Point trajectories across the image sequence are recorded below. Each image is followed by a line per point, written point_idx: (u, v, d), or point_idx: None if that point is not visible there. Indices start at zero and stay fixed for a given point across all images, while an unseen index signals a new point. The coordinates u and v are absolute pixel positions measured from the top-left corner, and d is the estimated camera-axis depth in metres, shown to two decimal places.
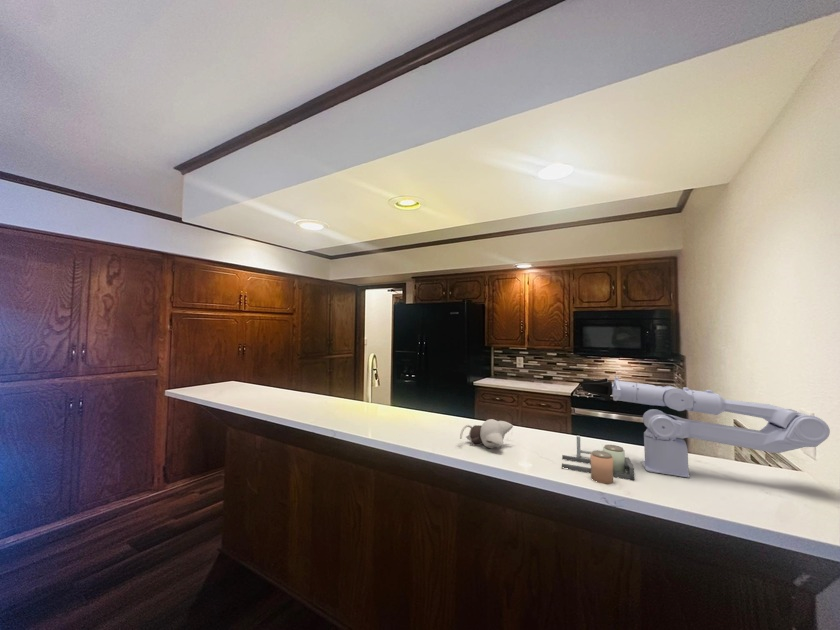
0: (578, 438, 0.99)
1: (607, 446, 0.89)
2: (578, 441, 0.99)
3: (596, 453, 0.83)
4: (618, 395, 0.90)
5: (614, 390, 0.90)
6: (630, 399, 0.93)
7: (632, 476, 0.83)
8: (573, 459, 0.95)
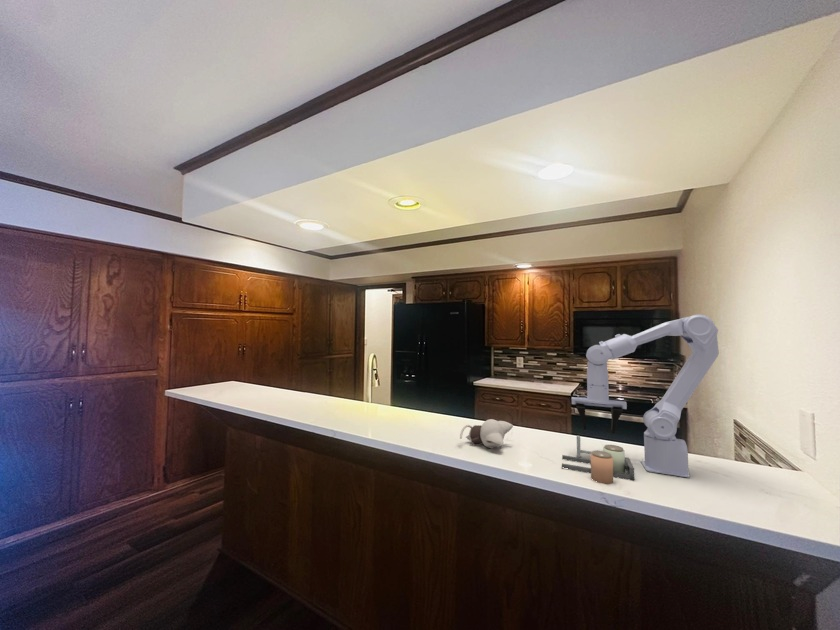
0: (578, 438, 0.99)
1: (607, 446, 0.89)
2: (578, 441, 0.99)
3: (596, 453, 0.83)
4: None
5: None
6: (590, 389, 0.98)
7: (632, 476, 0.83)
8: (573, 459, 0.95)
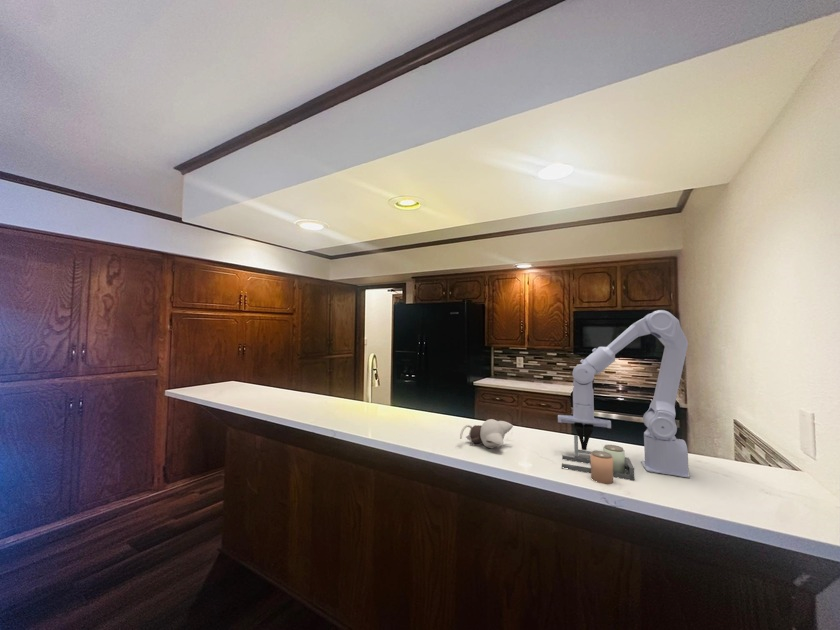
0: (576, 438, 1.00)
1: (607, 446, 0.89)
2: (576, 441, 0.99)
3: (596, 453, 0.83)
4: None
5: None
6: (575, 408, 0.99)
7: (632, 476, 0.83)
8: (573, 459, 0.95)
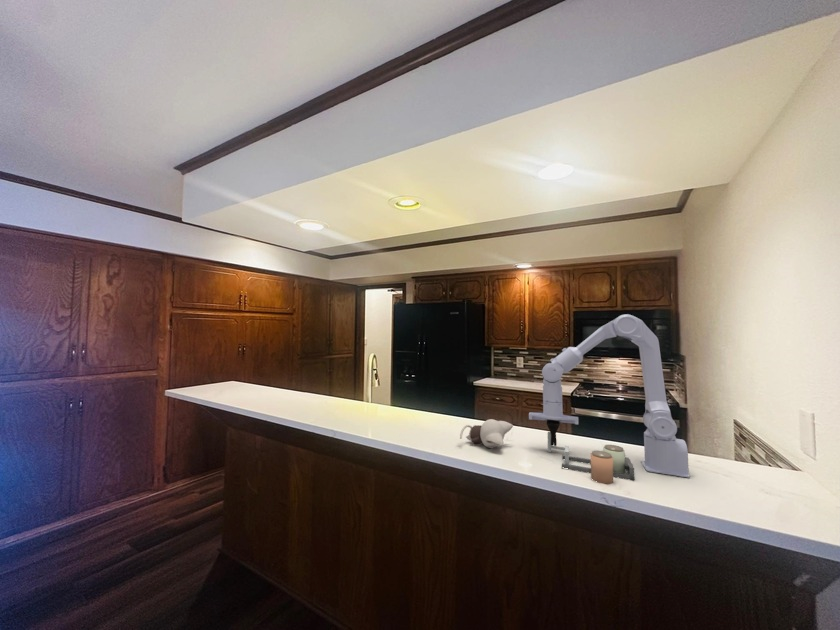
0: (549, 434, 1.03)
1: (607, 446, 0.89)
2: (549, 437, 1.03)
3: (596, 453, 0.83)
4: None
5: None
6: (545, 405, 1.03)
7: (632, 476, 0.83)
8: (573, 459, 0.95)
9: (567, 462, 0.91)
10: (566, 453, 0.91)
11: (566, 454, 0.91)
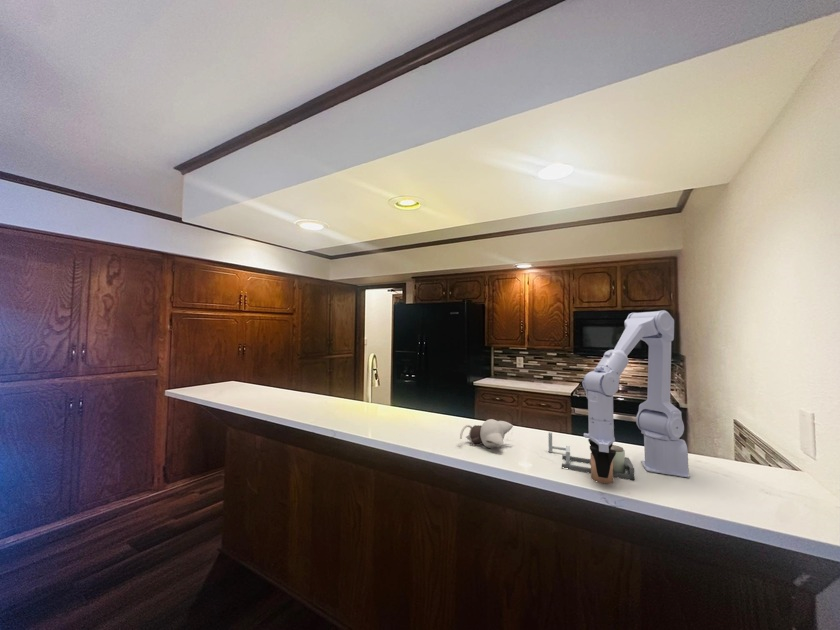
0: (550, 434, 1.03)
1: None
2: (550, 437, 1.03)
3: None
4: (607, 446, 0.77)
5: (601, 450, 0.77)
6: (610, 426, 0.81)
7: (632, 476, 0.83)
8: (573, 459, 0.95)
9: (568, 462, 0.91)
10: (567, 453, 0.91)
11: (567, 454, 0.91)
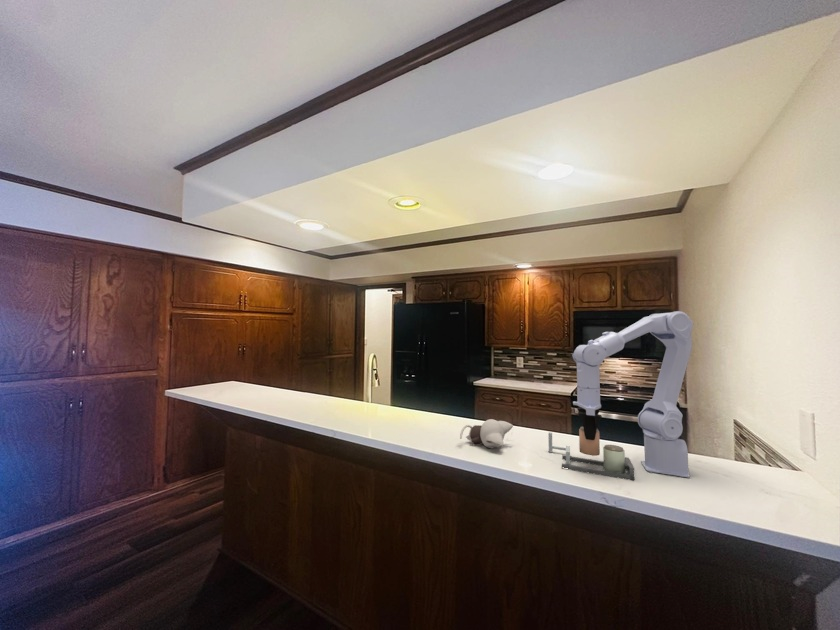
0: (550, 434, 1.03)
1: (607, 446, 0.89)
2: (550, 437, 1.03)
3: None
4: (593, 409, 0.85)
5: (588, 413, 0.85)
6: (596, 393, 0.89)
7: (632, 476, 0.83)
8: (573, 459, 0.95)
9: (568, 462, 0.91)
10: (567, 453, 0.91)
11: (567, 454, 0.91)
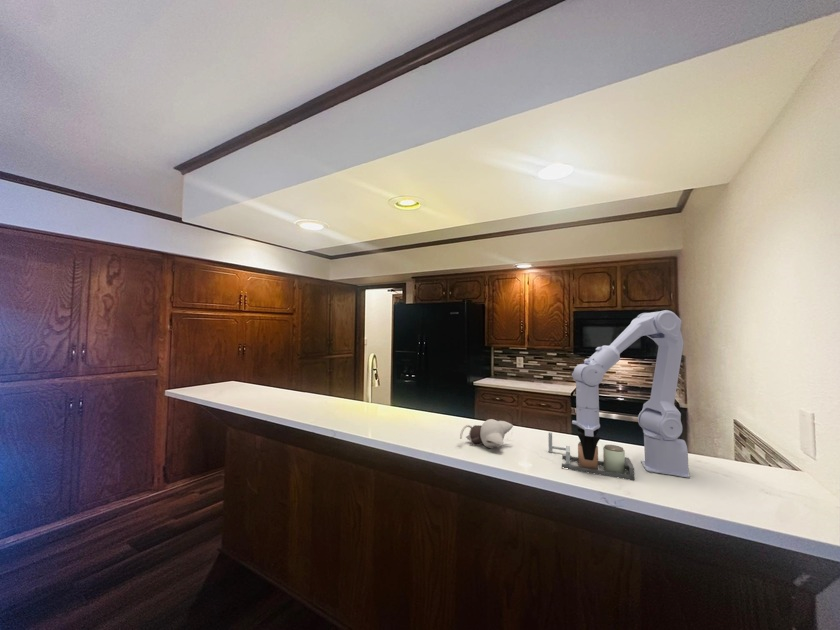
0: (550, 434, 1.03)
1: (607, 446, 0.89)
2: (550, 437, 1.03)
3: None
4: (592, 430, 0.85)
5: (586, 434, 0.85)
6: (595, 413, 0.89)
7: (632, 476, 0.83)
8: (573, 459, 0.95)
9: (568, 462, 0.91)
10: (567, 453, 0.91)
11: (567, 454, 0.91)
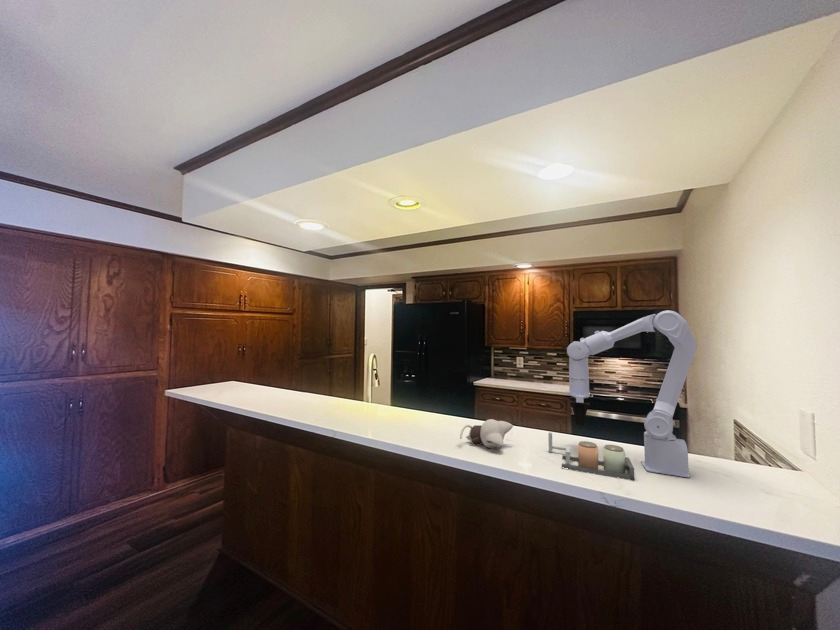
0: (550, 434, 1.03)
1: (607, 446, 0.89)
2: (550, 437, 1.03)
3: (583, 443, 0.91)
4: (582, 397, 0.98)
5: (577, 401, 0.98)
6: (585, 384, 1.02)
7: (632, 476, 0.83)
8: (573, 459, 0.95)
9: (568, 462, 0.91)
10: (567, 453, 0.91)
11: (567, 454, 0.91)
